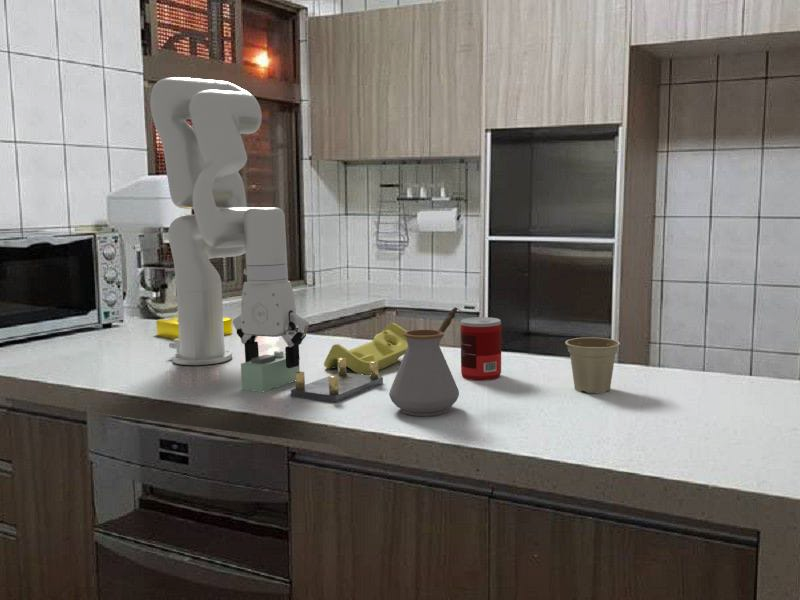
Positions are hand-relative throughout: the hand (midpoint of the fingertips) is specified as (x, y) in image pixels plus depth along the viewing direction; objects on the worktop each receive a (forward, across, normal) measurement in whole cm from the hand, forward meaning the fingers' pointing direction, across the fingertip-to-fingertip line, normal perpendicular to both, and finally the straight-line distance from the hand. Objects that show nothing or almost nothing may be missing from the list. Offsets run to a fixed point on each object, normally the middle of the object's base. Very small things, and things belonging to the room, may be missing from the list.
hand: (272, 365), depth 148 cm
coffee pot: (+5, +33, +2) cm, 34 cm away
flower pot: (+5, +54, +22) cm, 59 cm away
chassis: (+4, +13, +2) cm, 14 cm away
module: (+4, -1, 0) cm, 4 cm away
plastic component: (+4, +8, +23) cm, 25 cm away
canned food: (+5, +32, +23) cm, 40 cm away
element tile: (+3, -55, +35) cm, 65 cm away
